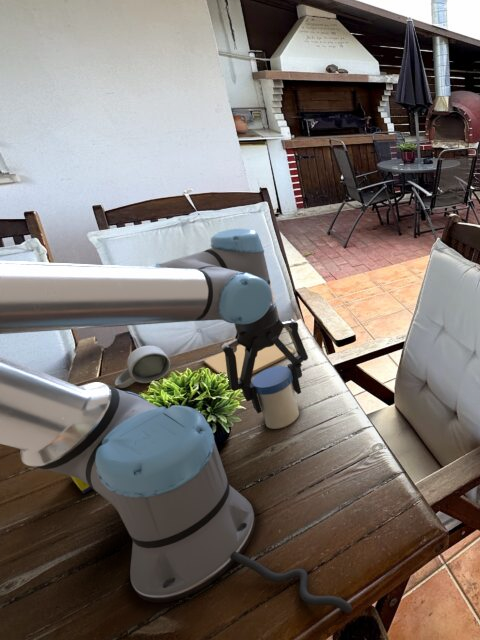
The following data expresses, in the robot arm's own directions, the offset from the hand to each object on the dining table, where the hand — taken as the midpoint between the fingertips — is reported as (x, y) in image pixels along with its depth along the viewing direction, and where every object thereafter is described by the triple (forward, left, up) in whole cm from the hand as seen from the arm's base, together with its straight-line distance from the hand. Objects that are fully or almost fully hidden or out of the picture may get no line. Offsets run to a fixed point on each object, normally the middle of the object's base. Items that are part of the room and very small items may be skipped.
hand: (278, 399), depth 87 cm
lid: (0, 0, +6) cm, 6 cm away
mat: (+30, -7, -5) cm, 31 cm away
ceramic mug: (+43, +12, -5) cm, 45 cm away
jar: (0, 0, -5) cm, 5 cm away
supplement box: (+14, +27, -5) cm, 31 cm away
